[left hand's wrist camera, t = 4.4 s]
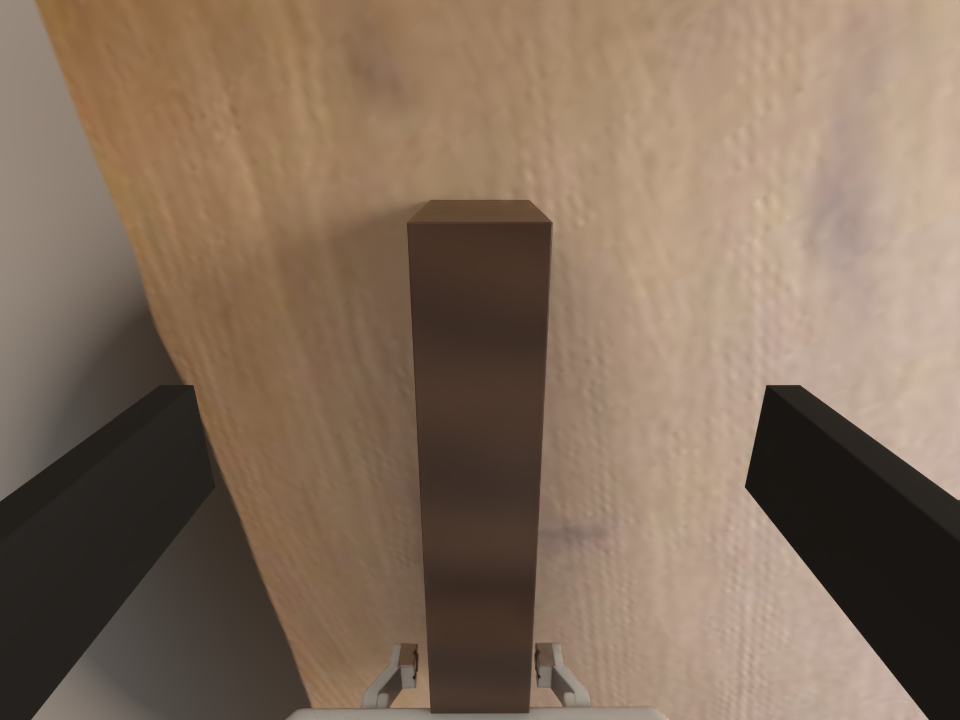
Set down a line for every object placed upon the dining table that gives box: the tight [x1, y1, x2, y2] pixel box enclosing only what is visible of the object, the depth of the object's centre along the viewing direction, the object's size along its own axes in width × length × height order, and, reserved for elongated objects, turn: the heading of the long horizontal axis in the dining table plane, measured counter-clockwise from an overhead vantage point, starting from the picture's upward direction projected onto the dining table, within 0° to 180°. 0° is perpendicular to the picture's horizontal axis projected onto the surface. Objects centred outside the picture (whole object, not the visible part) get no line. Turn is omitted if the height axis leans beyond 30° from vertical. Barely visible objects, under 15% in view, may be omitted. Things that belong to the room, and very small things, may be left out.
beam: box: [407, 200, 553, 714], centre depth 28 cm, size 30×5×9 cm, turn 0°
